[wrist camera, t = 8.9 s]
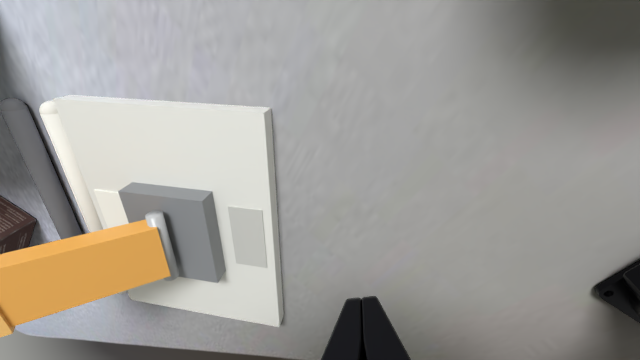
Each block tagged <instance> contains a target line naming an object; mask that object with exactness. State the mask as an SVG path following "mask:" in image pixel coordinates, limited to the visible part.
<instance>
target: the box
mask: <svg viewBox="0 0 640 360" xmlns="http://www.w3.org/2000/svg"><path fill="white" fill-rule="evenodd" d="M35 222H36V219H35V218H33V217H32V216H30V215H29V214H27V213H26V212H25V211H23V210H22V209H20V208H18V207H17V206H15V205H14V204H12V203H10V202H9V201H7V200H6V199H4V198H3V197H1V196H0V254H3V253H7V252H12V251H16V250H20V249H24V248H28V246H29V242H30V239H31V236H32V232H33V229H34V226H35Z"/></svg>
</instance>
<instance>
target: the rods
mask: <svg viewBox="0 0 640 360" xmlns="http://www.w3.org/2000/svg"><path fill="white" fill-rule="evenodd" d="M0 111H1V114H2V116H3V118H4V120H5V122H6V124H7V126H8V128H9V130H10V132H11V135H12V137H13V139H14V141H15V143H16V145H17V147H18V149H19V151H20V154H21V156H22V158H23V160H24V162H25V164H26V166H27V168H28V170H29V172H30V175H31V177H32V179H33V181H34V183H35V185H36V187H37V189H38V191H39V193H40V196H41V198H42V200H43V202H44V204H45V206H46V208H47V210H48V212H49V215H50V217H51V219H52V221H53V223H54V225H55V227H56V229H57V231H58V233H59V236H60V238H61V240H62V239H66V238H70V237H74V236H78V235H82V232H81V230H80V228H79V225H78V223H77V221H76V218H75V216H74V214H73V211H72V209H71V207H70V204H69V202H68V200H67V197H66V195H65V193H64V191H63V188H62V186H61V184H60V181H59V179H58V177H57V174H56V172H55V170H54V167H53V165H52V163H51V160H50V158H49V156H48V153H47V151H46V149H45V146H44V144H43V142H42V140H41V137H40V135H39V133H38V130H37V128H36V126H35V123H34V121H33V119H32V116H31V114H30V112H29V109H28V107H27V105H26V104H25V103H24V102H23V101H21V100H19V99H16V98H7V99H4V100H3V101H2V102H1V103H0ZM39 112H40V115H41V117H42V120H43V122H44V125H45V127H46V129H47V132H48V134H49V137H50V139H51V141H52V144H53V146H54V149H55V151H56V153H57V156H58V158H59V161H60V163H61V165H62V168H63V170H64V173H65V175H66V177H67V180H68V182H69V185H70V187H71V189H72V192H73V194H74V197H75V199H76V201H77V204H78V206H79V209H80V211H81V213H82V216H83V218H84V221H85V223H86V225H87V228H88V230H89V233H91V232H95V231H99V230H103V227H102V224H101V222H100V219H99V217H98V214H97V211H96V209H95V206H94V204H93V201H92V199H91V196H90V193H89V191H88V188H87V186H86V183H85V181H84V178H83V175H82V173H81V170H80V168H79V165H78V162H77V160H76V157H75V155H74V152H73V150H72V147H71V144H70V142H69V139H68V137H67V134H66V132H65V129H64V126H63V124H62V121H61V119H60V116H59V114H58V111H57V108H56V106H55V103H54V101H46V102H44V103H42V104H41V106H40V108H39ZM126 292H128V291H127V290H125V291H122V292H119V293H117V294H124V293H126Z"/></svg>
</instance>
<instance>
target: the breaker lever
mask: <svg viewBox="0 0 640 360" xmlns="http://www.w3.org/2000/svg"><path fill="white" fill-rule="evenodd" d="M145 218H146V219H145V220H141V221H137V222H133V223H129V224H124V225H120V226H116V227H112V228H108V229H103V230H99V231H95V232H91V233H87V234H83V235H78V236H74V237H70V238H66V239H62V240H57V241H53V242H49V243H45V244H41V245H37V246H32V247H28V248H24V249H20V250H16V251H12V252H7V253H3V254H0V337H3V336H6V335H9V334H12V333H13V331H14V329H15V326H16V325H19V324H22V323H26V322H29V321H32V320H35V319H38V318H41V317H44V316H47V315H50V314H54V313H57V312H60V311H63V310H66V309H69V308H72V307H75V306H79V305H82V304H85V303H88V302H91V301H94V300H97V299H100V298H104V297H107V296H110V295H113V294H116V293H119V292H122V291H125V290H128V289H132V288H135V287H138V286H141V285H144V284H147V283H150V282H153V281H157V280H160V279H163V278H164V280H166V281H172V280H174V279H176V278H177V277H178V276H179V271H178V268H177V264H176V260H175V256H174V253H173V249H172V245H171V241H170V238H169V234H168V230H167V227H166V223H165V219H164V215H163V212H162V211H159V210H156V211H151V212H149V213H147V214H146V216H145Z"/></svg>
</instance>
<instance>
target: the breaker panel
mask: <svg viewBox="0 0 640 360" xmlns="http://www.w3.org/2000/svg"><path fill="white" fill-rule="evenodd" d="M53 101H54V103H55V106H56V108H57V111H58V114H59V116H60V119H61V121H62V124H63V126H64V129H65V132H66V134H67V137H68V139H69V142H70V144H71V147H72V150H73V152H74V155H75V157H76V160H77V162H78V165H79V168H80V170H81V173H82V175H83V178H84V181H85V183H86V186H87V188H88V191H89V193H90V196H91V199H92V201H93V204H94V206H95V209H96V211H97V214H98V217H99V219H100V222H101V224H102V227H103V229H108V228H112V227H116V226H120V225H124V224H129V223H133V222H137V221H141V220H145V219H146V218H145V216H146V214H147V213H149V212H151V211H156V210H159V211H162V212H163V215H164V219H165V223H166V227H167V230H168V234H169V238H170V241H171V245H172V249H173V253H174V256H175V260H176V264H177V268H178V271H179V276H178V277H177V278H176V279H174V280H172V281H166V280H164V278H163V279H160V280H157V281H153V282H150V283H147V284H144V285H141V286H138V287H135V288H132V289H128V290H127V291H128V294H129V296H130V299H131V300H135V301H140V302H146V303H151V304H157V305H162V306H167V307H173V308H178V309H184V310H189V311H194V312H200V313H205V314H211V315H216V316H221V317H227V318H232V319H238V320H243V321H249V322H254V323H259V324H265V325H270V326H276V327H280V324H281V322H282V319H283V316H284V311H283V295H282V278H281V262H280V246H279V229H278V213H277V197H276V180H275V164H274V148H273V131H272V115H271V108H268V107H252V106H237V105H221V104H205V103H190V102H174V101H159V100H143V99H127V98H112V97H96V96H81V95H67V96H63V97H58V98H54V99H53Z"/></svg>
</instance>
